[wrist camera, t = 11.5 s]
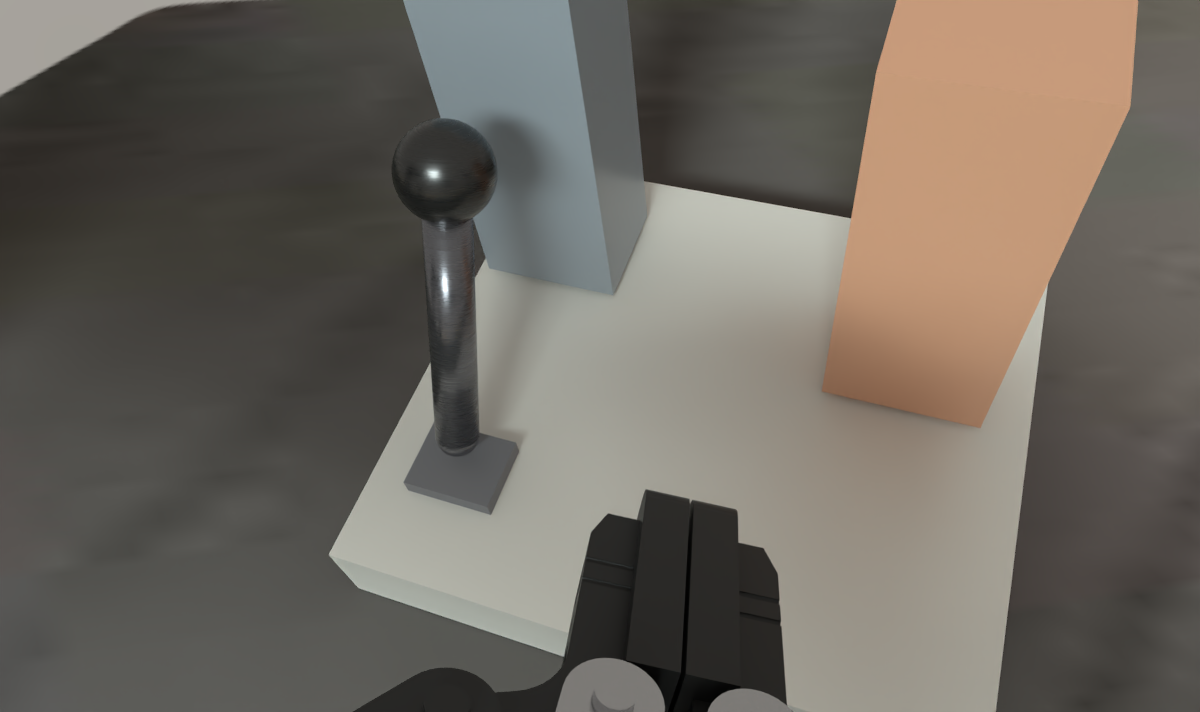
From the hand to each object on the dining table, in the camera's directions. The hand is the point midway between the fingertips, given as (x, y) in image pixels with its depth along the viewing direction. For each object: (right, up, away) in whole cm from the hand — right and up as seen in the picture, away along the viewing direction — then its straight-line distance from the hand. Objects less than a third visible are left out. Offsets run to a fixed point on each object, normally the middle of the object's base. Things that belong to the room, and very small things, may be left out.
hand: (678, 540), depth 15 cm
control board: (+3, 0, +19) cm, 19 cm away
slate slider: (-2, +7, +20) cm, 22 cm away
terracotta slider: (+9, +3, +16) cm, 19 cm away
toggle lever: (-6, 0, +15) cm, 16 cm away
